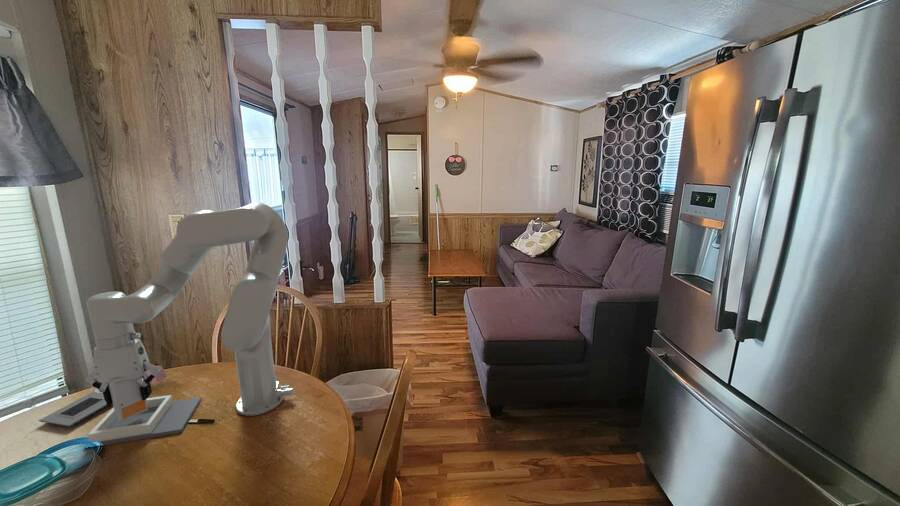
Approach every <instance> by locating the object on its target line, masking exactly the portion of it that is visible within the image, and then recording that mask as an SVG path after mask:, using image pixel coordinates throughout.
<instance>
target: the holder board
mask: <svg viewBox="0 0 900 506" xmlns="http://www.w3.org/2000/svg"><path fill="white" fill-rule="evenodd" d="M146 401H147V406H148V410H147V411H144V412H142V413H140V414H137V415H135V416H133V417H131V418H128V419H126V420H124V421H122V422H121V421H120V420H119V419H118V418H117V417H116V416H115V412H114V407H112V408H111V409H110V410H109V412H107V414H106V415H105V416H104V417H103V418H102V419H101V420H100V421H99V422H98V423H97V424H96V425H95V427H93V428H92V430H90V431H89V433H88V434H87V436H88V440H89V441H90V442H95V441H100V442H101V443H102V444H103V446H109V445H115V444H119V443H120V444H121V443H126V442H127V443H128V442H133V441H137V440H138V441H139V440H145V439H150V438H156V437H162V436H169V435H174V434H179V433H183V432H184V430H185V428H186V426H187V424H188V423H189V422H188V421H190V420H191V418H192V417H193V415H194V413H195V412H196V410H197V409H198V407H199V405H200V403H201V402H202V397H193V398H187V399H186V398H185V399H181V400H173V395H172V394H169V395H162V396H155V397H148V398H147V399H146Z"/></svg>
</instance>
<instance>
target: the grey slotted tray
mask: <svg viewBox="0 0 900 506" xmlns="http://www.w3.org/2000/svg"><path fill="white" fill-rule="evenodd" d="M97 392H98V391H92V392H90V393H88V394H86V395H84V396H82V397H81V398H78V399H76V400H75V401H72V402H71V403H69V404H67V405H65V406H62V407H61V408H59V409H57V410H56V411H53V412H52V413H50V414H48V415H46V416H45V417H43V418H40V419H38V422H41V423H46V424H47V423H48V424H52V425H57V426H58V425H59V426H63V427H73V426H75V425H77V424H78V423H80V422H82V421H83V420H84V419H86V418H88V417H91V416H92V415H94V414H96V413H97V412H99V411H101V410H103V409H104V408H106V407H108V406H109V405H107V404H106V401H105V400H104V395H103V392H101V393H97Z"/></svg>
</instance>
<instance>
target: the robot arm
mask: <svg viewBox="0 0 900 506" xmlns="http://www.w3.org/2000/svg"><path fill="white" fill-rule="evenodd" d="M175 232H176V233H175V236H173V238H172V239H171V241H170V242H169V243H168V244H167V245H166V247H165V248H164V249H163V251H161V253H160V259H161V260H162V261H161V264H160V266H159V268H158V270H156V271H155V273H154V274H153V276H152V277H150V279H149V281H148V282H147V283H145V285H144V286H143V287H141V288H140V289H138V290H136V291H135V292H133V293H131V294H128V295H126V294H125V293H124V292H122V291H106V292H100V293H97V294H95V295H92V296H89V297H88V299H86V309H87V313H88V317H89V318H88V319H89V321H90V326H91V331H92V333H93V338H94V342H95V347H94V349H93V367H94V368H93V369H94V370H93V371H92V372H91V373H90V374H89V375H88V376H87V377H86V378H84V381H85V382H86V383H88V384H90V385H91V386H92V387H93V388H95V389H97V390H98V392H101V393H103V395H104V400H105V401H106V404H107V405H108V406H111V405H113V403H112V398H111V394H110V390H109V385H108V384H109V383H110V380H111V379H120V378H123V379H124V380H125V381H127V380H136V381H137V382H138V383H139V384H140V385H141V387H140V393H141V397H142V400H146V399H147V398H150V396H151V394H152V391H153V389H152V387H151V382H152V381H153V379H155V377H156V376H157V375H158V374H159V372H160V371H161V369H162V368H161V367H160V366H158V365H155V364H153V363H150V358H149V356H148V353H147V350H146V347H145V346H144V344H143V342H142V341H141V339H140V338H141V337H142V334H141V333H140V332H136V330H135V328H134V324H143V323H144V324H145V323H147V322H149V321H151V320H153V319H154V318H155V317H156V316H157V315H159V314H160V313H161V312H162V311H163V310H164V309H165V308H167V307H168V306H169V305H170V304H171V303H172V302H173V300H174V299H175V298H176V297H177V295H178V294H179V293H180V292H181V291H182V289H183V288H184V287H185V286H186V284H187V283H188V281H189V280H190V279H191V277H192V276H193V275H194V274H195V272H196V271H197V270H198V269H199V267H200V266H201V264H203V263H204V261H205V259H206V258H207V257H208V255H209V254H210V253H211V252H212V251H213V249H214V248H215V247H217V248H218V247H222V246H228V245H235V244H241V243H246V242H251V241H253V244H252V247H251V249H250V253H249V259H248V261H247V265H246V268H245V270H244V273H243V275H242V276H241V277H240V279H239V280H238V281H237V282H236V285H235V286H234V288H233V290H232V293H231V295H230V300H229V303H228V306H227V308H226V312H225V315H224V320H223V325H222V327H221V340H222V342H223V344H224V345H225V347H227V348H228V349H229V350H231V351H233V352H234V358H235V366H236V372H237V379H238V385H239V386H238V387H239V393H240V398H239V399H238V401H237V402H236V404H235V408H236V411H237V413H238V414H240V415H243V416H246V417H251V416H252V417H253V416H258V415H259V416H260V415H263V414H266V413H268V412H270V411H272V410H274V409H275V408H277V407H278V406H279V405H280V404H281V403H282V401H283V400H284V396H292V395H294V393H293V391H294V390H293V389H294V388H293V387H290V384H287V385H285V384H284V385H281V384H280V381H279V380H278V381H277V379H276V372H275V371H276V370H275V362H274V355H273V353H274V352H273V345H272V344H273V343H272V331H271V330H272V329H271V316H270V311H271V308H272V303H273V301H274V299H275V296H276V294H277V291H278V285H279V279H280V275H281V272H282V267H283V264H284V260H285V257H286V253H287V247H288V239H289V238H288V230H287V227H286V223H285V221H284V219H283V218H282V217H281V216H280V214H279V213H278V212H277V211H276V209H273V208H272V207H271V206H269V205H268V204H265V203H263V202H252V203H251V202H250V203H248V204H245V205H244V206H242V207H238V208H237V207H236V208H230V209H225V210H218V211H214V210H211V209H200V210H197V211H194V212H192V213H189V214H186V215H184V216H183V217H182V218H181V219H180V220H179V221H178V223H177V226H176V231H175ZM147 371H149V372H151V373H150V374H148V373H147Z"/></svg>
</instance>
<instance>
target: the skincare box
mask: <svg viewBox="0 0 900 506" xmlns="http://www.w3.org/2000/svg"><path fill="white" fill-rule="evenodd" d="M108 385H109V390H110V394H111V398H112V408H114V412H115V416H116V417H117V418H118V419H119V420H120V421H121V422H122V421H124V420H126V419H128V418H131V417H133V416H135V415H137V414H140V413H142V412H144V411H147V410H148V406H147V401H146V400H142V397H141V393H140V387H141V385H140V384H139V383H138V382H137V381H136V380H127V381H125V380H124V379H123V378H120V379H111V380H110V383H109V384H108Z"/></svg>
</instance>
